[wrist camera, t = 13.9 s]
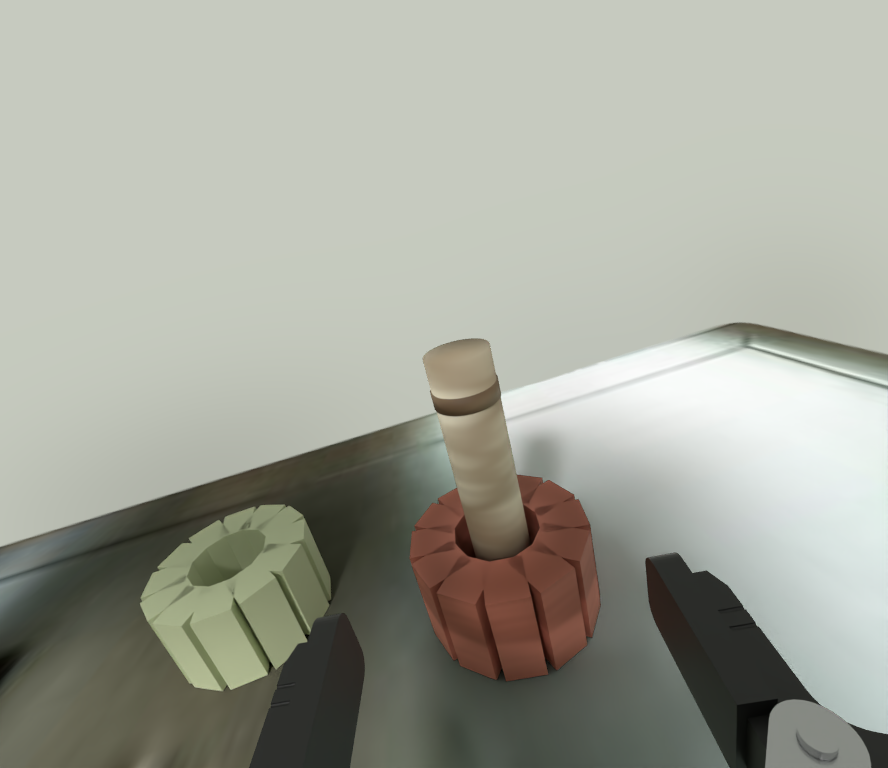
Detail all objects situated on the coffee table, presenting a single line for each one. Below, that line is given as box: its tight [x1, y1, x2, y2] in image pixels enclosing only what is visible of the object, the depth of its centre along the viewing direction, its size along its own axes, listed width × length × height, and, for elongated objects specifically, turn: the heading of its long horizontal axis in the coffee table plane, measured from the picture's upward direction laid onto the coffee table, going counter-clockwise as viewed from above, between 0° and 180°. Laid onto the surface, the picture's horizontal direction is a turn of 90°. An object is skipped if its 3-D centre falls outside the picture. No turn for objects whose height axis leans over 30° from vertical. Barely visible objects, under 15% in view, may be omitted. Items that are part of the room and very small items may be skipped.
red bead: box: [410, 475, 601, 681], centre depth 24 cm, size 9×9×5 cm
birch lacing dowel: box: [423, 339, 531, 562], centre depth 22 cm, size 3×3×15 cm
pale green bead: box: [140, 505, 331, 691], centre depth 27 cm, size 9×9×5 cm
